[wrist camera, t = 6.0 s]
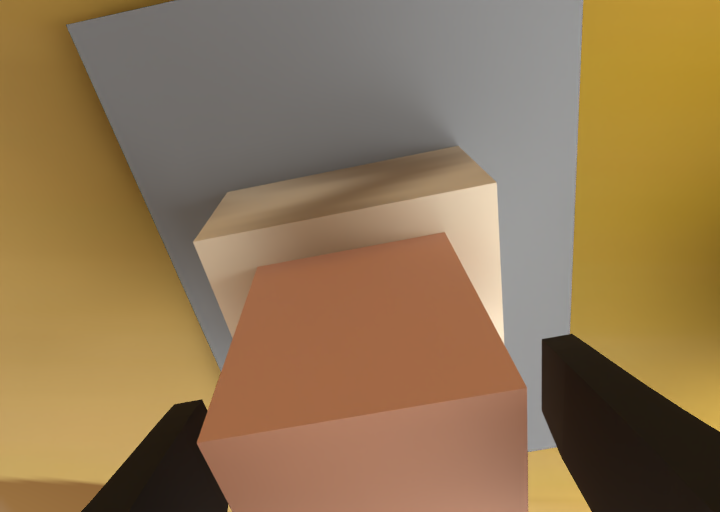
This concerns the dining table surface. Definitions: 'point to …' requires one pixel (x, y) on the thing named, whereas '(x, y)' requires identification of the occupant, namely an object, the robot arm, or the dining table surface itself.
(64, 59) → the dining table surface
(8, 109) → the dining table surface
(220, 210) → the birch block
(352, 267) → the terracotta brick
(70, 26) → the baseplate
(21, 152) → the dining table surface
